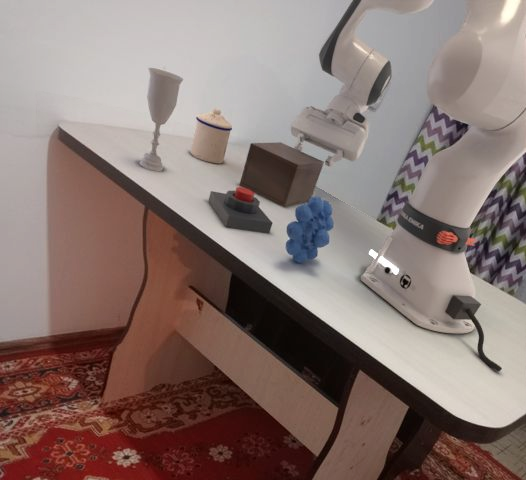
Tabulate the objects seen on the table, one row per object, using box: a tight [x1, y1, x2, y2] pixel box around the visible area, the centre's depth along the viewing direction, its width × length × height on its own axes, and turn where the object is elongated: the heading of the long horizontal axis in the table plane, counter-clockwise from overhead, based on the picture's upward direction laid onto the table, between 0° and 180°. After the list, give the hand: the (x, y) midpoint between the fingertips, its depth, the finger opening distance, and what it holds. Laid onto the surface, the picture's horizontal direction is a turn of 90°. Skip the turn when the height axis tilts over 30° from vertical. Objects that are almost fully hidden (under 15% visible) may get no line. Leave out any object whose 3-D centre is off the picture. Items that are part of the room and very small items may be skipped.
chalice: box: [139, 67, 184, 172], centre depth 95 cm, size 7×7×18 cm
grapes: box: [285, 195, 334, 264], centre depth 77 cm, size 12×7×12 cm, turn 136°
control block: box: [208, 190, 273, 234], centre depth 89 cm, size 12×9×4 cm
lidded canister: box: [190, 107, 233, 164], centre depth 117 cm, size 12×9×12 cm
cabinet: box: [239, 141, 325, 208], centre depth 109 cm, size 15×13×10 cm
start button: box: [234, 186, 255, 202], centre depth 88 cm, size 4×4×2 cm
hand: (311, 157), depth 119 cm, fingers open, 8 cm apart
